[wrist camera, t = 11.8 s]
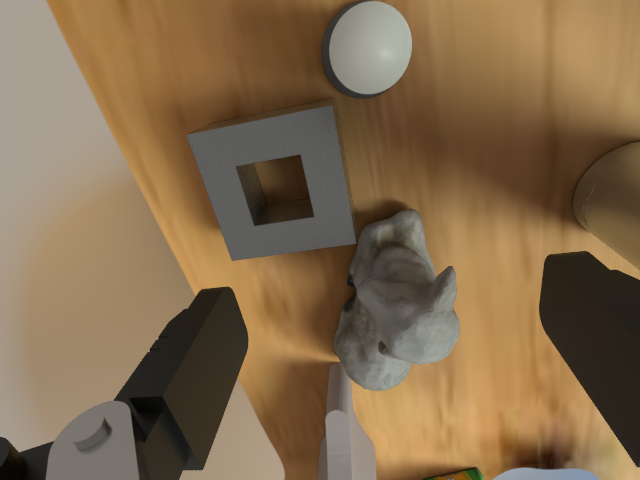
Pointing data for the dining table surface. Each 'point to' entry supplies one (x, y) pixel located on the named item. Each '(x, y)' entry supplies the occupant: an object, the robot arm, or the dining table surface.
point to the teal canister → (370, 47)
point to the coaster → (326, 57)
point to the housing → (245, 190)
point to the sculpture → (395, 305)
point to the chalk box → (461, 476)
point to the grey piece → (344, 435)
